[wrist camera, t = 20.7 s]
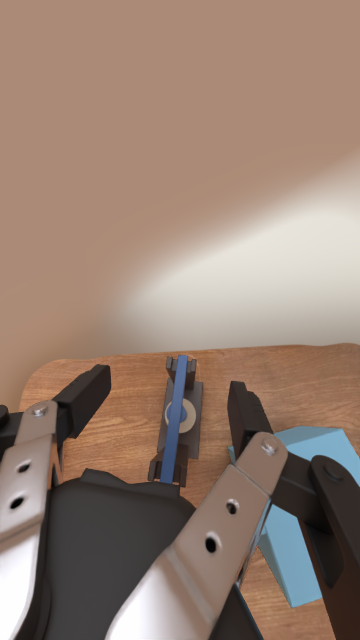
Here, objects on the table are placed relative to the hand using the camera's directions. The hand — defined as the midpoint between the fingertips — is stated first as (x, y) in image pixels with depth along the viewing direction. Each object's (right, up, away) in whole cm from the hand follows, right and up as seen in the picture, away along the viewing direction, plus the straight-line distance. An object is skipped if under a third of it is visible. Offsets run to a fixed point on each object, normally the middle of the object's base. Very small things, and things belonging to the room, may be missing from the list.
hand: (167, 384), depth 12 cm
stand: (+1, -14, +23) cm, 27 cm away
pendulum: (+1, -12, +18) cm, 22 cm away
